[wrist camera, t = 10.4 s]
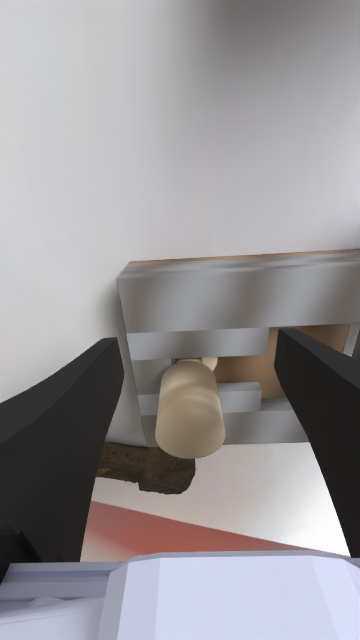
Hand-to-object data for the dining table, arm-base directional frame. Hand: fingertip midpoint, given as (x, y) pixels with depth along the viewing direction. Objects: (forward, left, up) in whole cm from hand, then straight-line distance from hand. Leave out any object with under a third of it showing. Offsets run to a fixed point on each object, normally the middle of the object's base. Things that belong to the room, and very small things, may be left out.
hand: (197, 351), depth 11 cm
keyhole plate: (-4, +6, -10) cm, 13 cm away
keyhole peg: (+1, +6, -9) cm, 11 cm away
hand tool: (+10, +19, -11) cm, 24 cm away
